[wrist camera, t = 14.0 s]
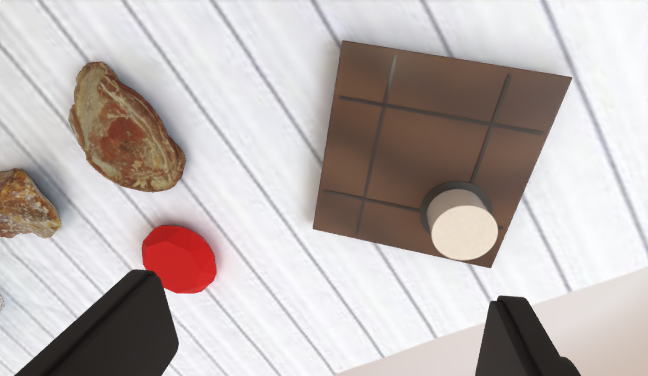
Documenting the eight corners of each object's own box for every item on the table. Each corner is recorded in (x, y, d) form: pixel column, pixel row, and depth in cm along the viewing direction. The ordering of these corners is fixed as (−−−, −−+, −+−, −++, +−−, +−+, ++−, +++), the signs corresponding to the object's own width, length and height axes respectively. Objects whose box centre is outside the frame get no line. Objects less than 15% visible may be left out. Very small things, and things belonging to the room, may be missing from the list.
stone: (68, 128, 36) (41, 134, 34) (99, 52, 32) (70, 52, 29) (167, 204, 38) (149, 216, 35) (208, 140, 34) (191, 148, 31)
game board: (344, 40, 28) (342, 40, 27) (563, 76, 26) (573, 77, 25) (315, 222, 35) (312, 229, 34) (486, 259, 33) (491, 269, 32)
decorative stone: (54, 236, 35) (-7, 266, 42) (89, 216, 39) (29, 247, 45) (-11, 158, 33) (-65, 204, 39) (34, 145, 37) (-22, 188, 43)
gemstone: (216, 223, 37) (202, 236, 35) (224, 287, 41) (213, 304, 38) (145, 217, 39) (127, 229, 36) (159, 279, 42) (143, 295, 39)
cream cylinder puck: (435, 183, 30) (441, 199, 27) (493, 195, 29) (507, 212, 26) (420, 232, 32) (424, 252, 29) (474, 244, 31) (485, 266, 28)
